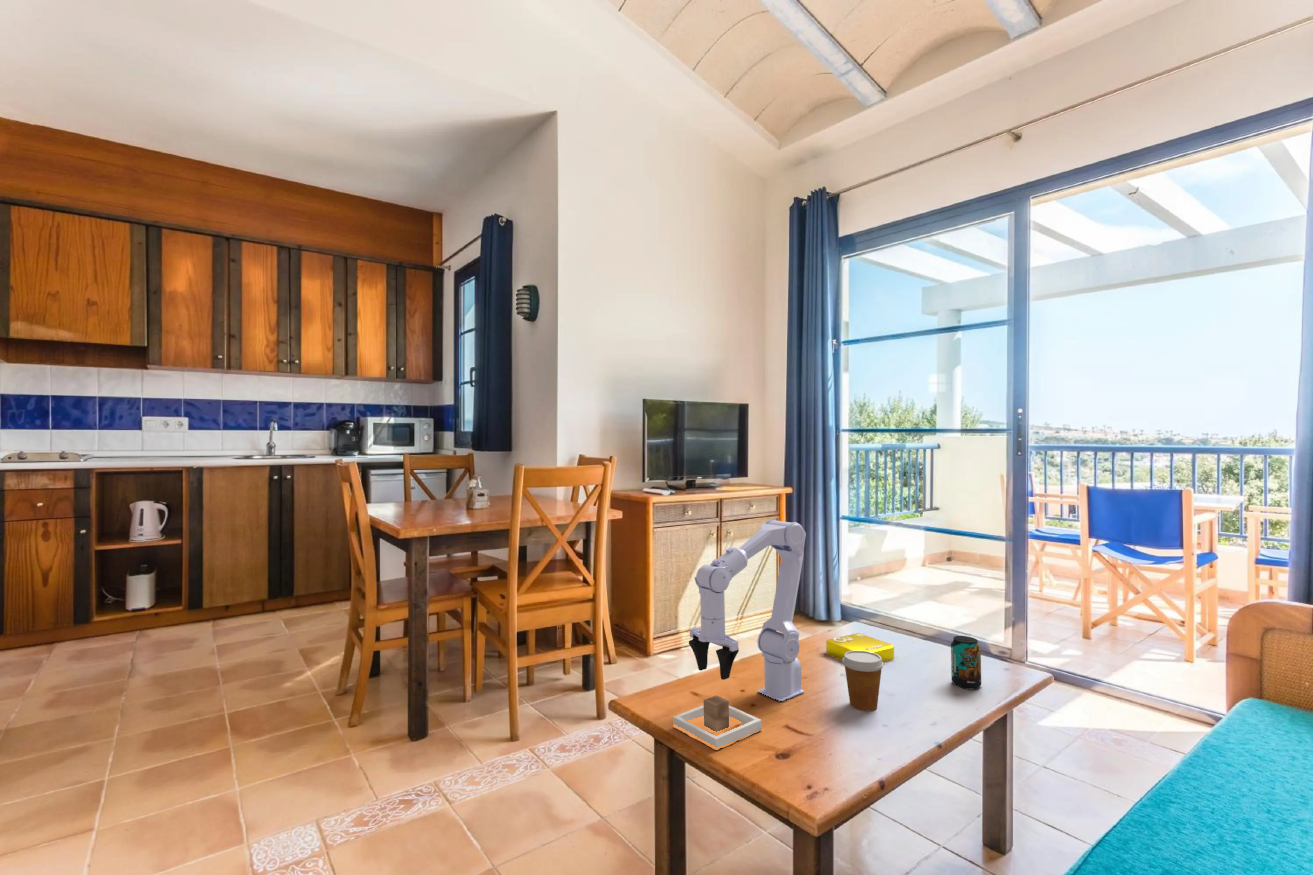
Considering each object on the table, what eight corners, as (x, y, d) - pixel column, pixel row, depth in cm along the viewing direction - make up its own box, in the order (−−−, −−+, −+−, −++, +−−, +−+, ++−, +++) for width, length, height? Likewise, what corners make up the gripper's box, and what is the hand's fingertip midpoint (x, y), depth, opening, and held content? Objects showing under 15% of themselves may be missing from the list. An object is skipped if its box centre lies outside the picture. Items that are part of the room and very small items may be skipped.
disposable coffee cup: (857, 716, 142) (857, 664, 142) (835, 700, 151) (834, 651, 151) (892, 711, 144) (891, 660, 145) (868, 695, 154) (867, 648, 154)
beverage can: (978, 692, 155) (977, 644, 155) (949, 685, 159) (948, 640, 159) (983, 683, 160) (982, 637, 161) (954, 677, 165) (953, 633, 165)
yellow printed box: (861, 669, 173) (861, 652, 173) (823, 654, 186) (823, 638, 186) (897, 660, 180) (897, 643, 180) (858, 645, 193) (858, 630, 193)
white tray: (717, 710, 146) (717, 699, 146) (761, 731, 135) (761, 719, 135) (673, 727, 137) (672, 716, 137) (716, 751, 126) (716, 739, 126)
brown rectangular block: (716, 721, 139) (716, 695, 139) (729, 727, 136) (728, 700, 136) (703, 726, 137) (703, 699, 137) (716, 732, 133) (715, 705, 133)
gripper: (679, 613, 147) (680, 669, 147) (722, 626, 136) (723, 687, 136) (701, 607, 152) (702, 662, 151) (744, 620, 140) (745, 679, 140)
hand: (713, 673), depth 144 cm, fingers open, 7 cm apart
